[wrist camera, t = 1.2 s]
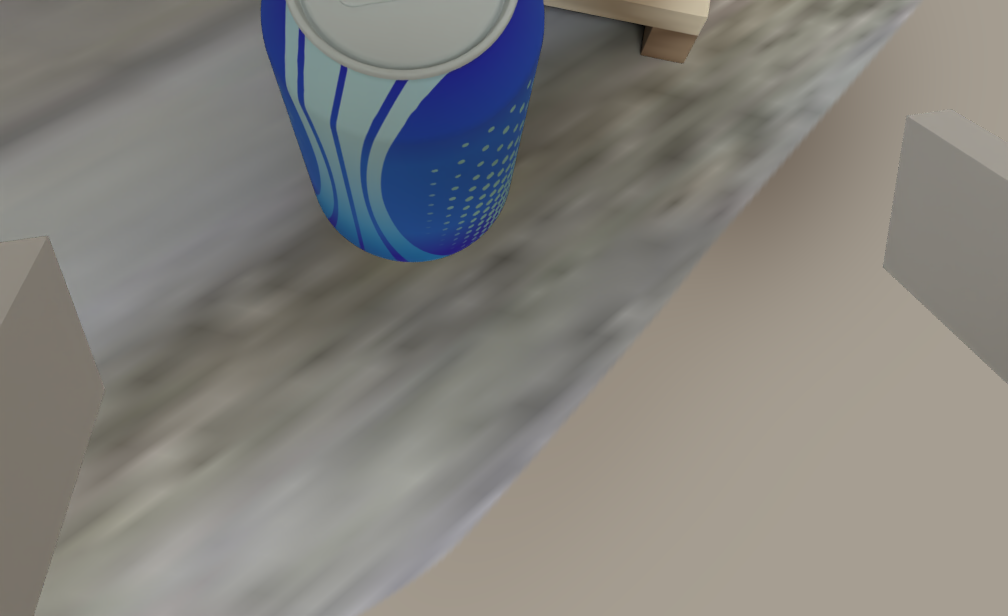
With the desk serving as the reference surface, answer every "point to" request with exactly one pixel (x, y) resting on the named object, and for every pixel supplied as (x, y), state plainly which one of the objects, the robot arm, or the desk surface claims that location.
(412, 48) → the beer can
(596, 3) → the shelf stand
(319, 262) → the desk surface
